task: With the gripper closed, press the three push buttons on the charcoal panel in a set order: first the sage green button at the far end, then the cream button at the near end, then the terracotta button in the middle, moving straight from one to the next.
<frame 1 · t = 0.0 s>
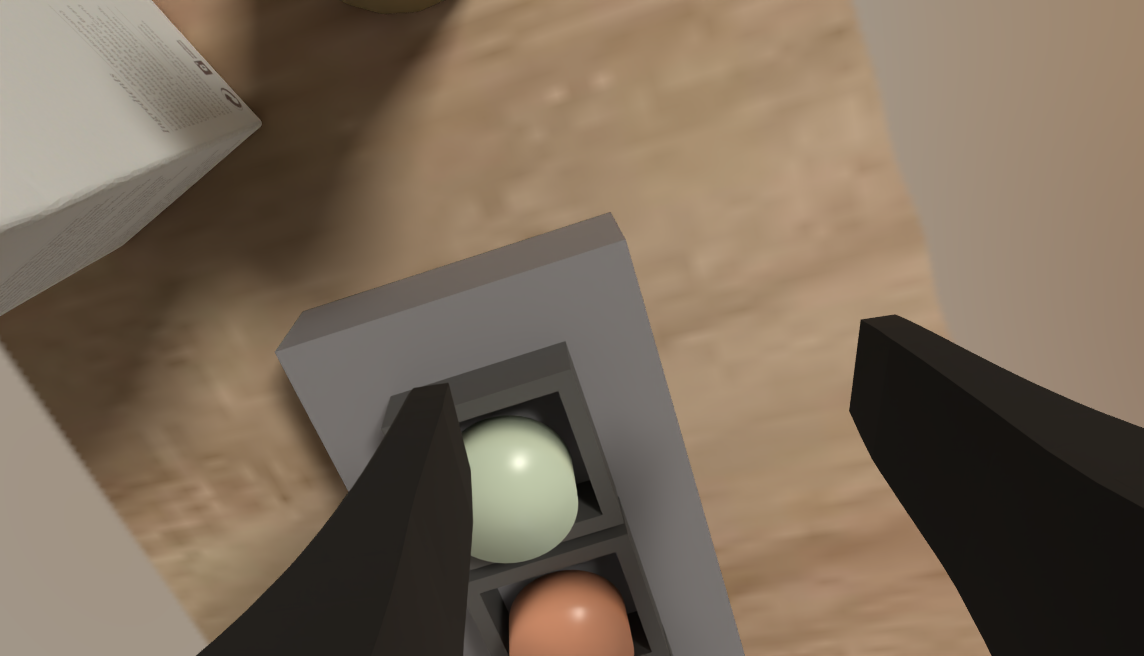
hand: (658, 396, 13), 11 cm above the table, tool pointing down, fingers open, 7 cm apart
charcoal button panel: (557, 523, 27), on the table
sage button: (508, 489, 19), point 5 cm above the table, slide at 0.0 cm
skincare box: (135, 127, 20), on the table
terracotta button: (569, 636, 22), point 5 cm above the table, slide at 0.0 cm
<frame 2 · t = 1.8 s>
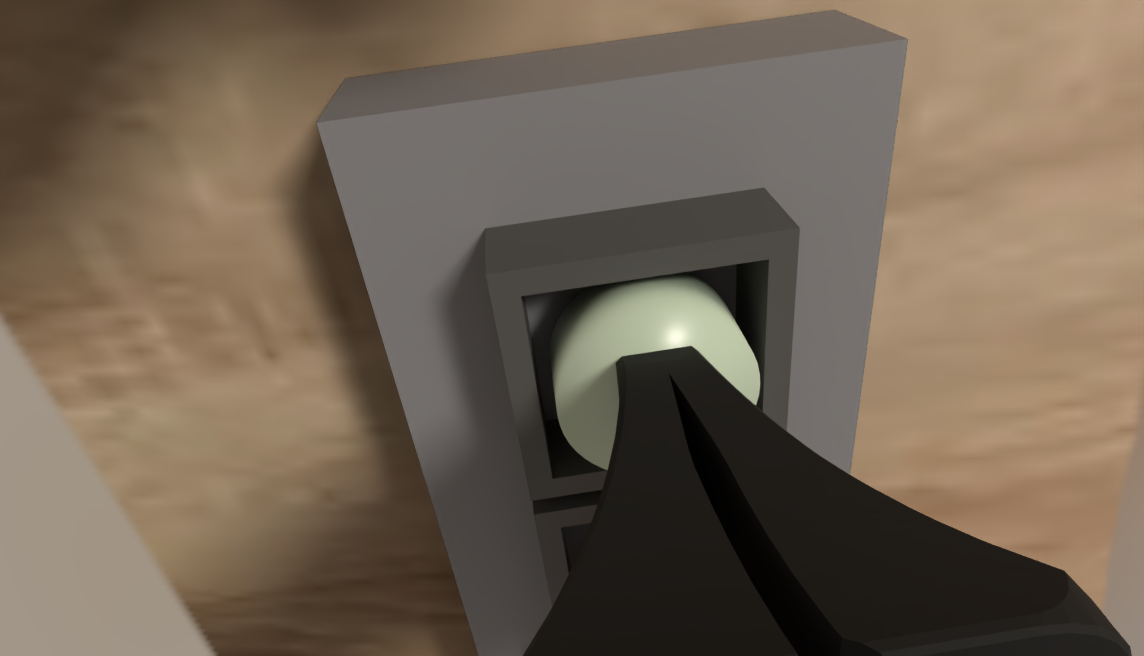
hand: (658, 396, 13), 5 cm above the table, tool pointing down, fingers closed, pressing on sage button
charcoal button panel: (628, 436, 20), on the table
sage button: (650, 373, 13), point 5 cm above the table, slide at 0.7 cm, touching gripper
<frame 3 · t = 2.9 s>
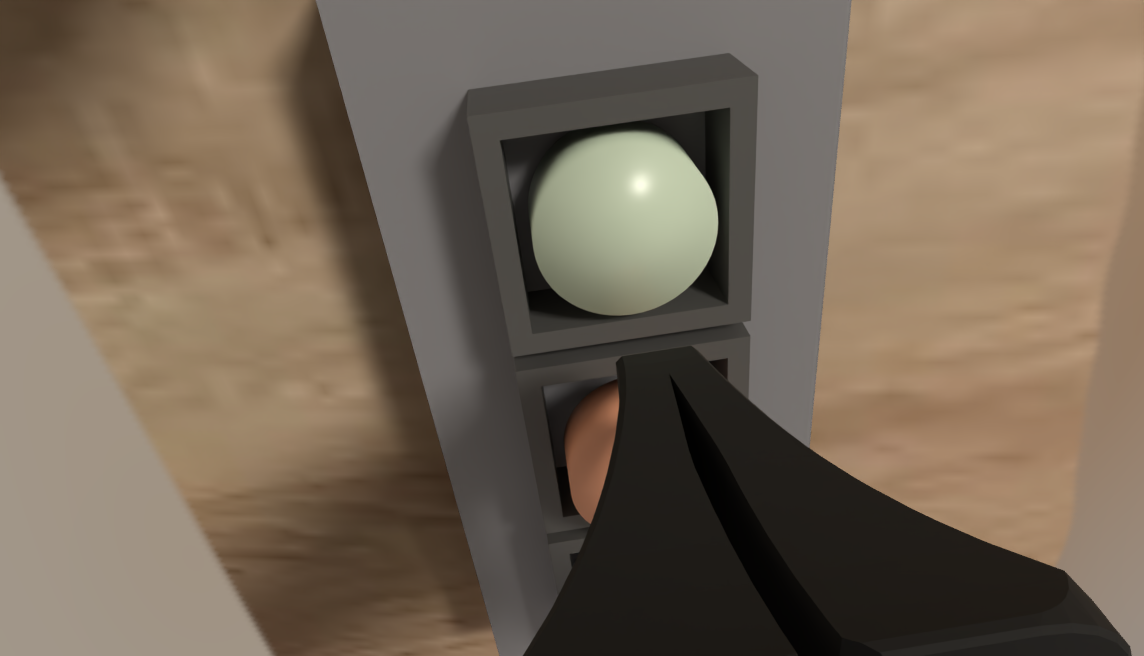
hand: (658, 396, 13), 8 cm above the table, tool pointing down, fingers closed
charcoal button panel: (610, 332, 21), on the table
sage button: (619, 218, 15), point 4 cm above the table, slide at 1.0 cm
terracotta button: (644, 457, 17), point 5 cm above the table, slide at 0.0 cm
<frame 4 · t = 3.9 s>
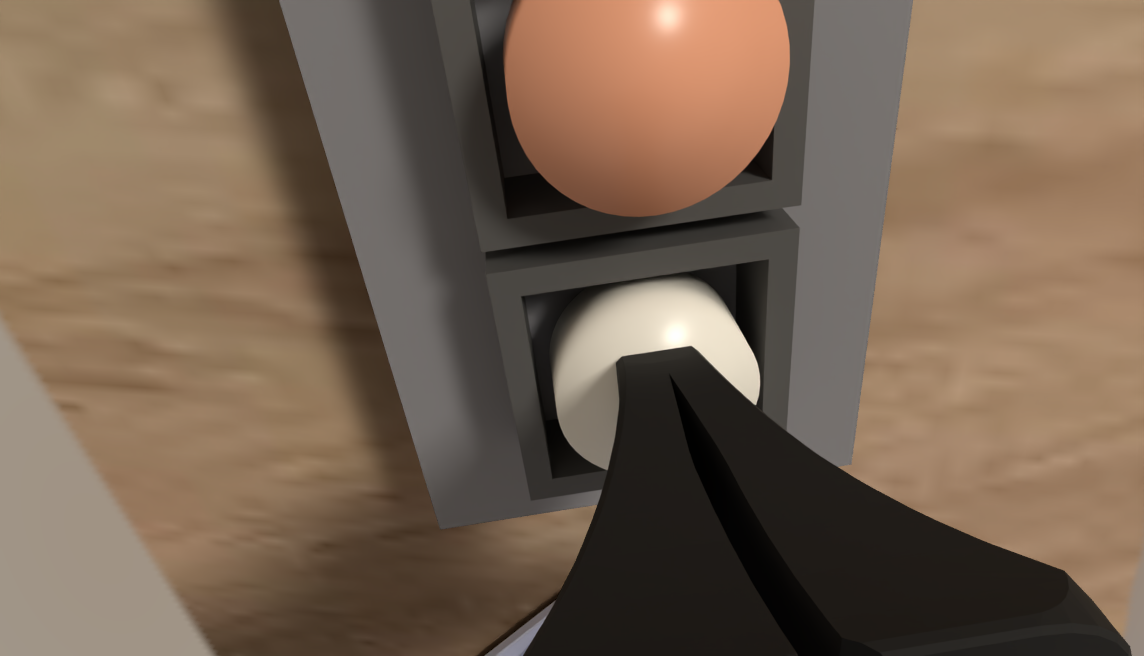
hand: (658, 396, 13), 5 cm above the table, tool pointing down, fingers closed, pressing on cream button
cream button: (650, 373, 13), point 5 cm above the table, slide at 0.7 cm, touching gripper
charcoal button panel: (589, 6, 14), on the table
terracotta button: (638, 69, 10), point 5 cm above the table, slide at 0.0 cm
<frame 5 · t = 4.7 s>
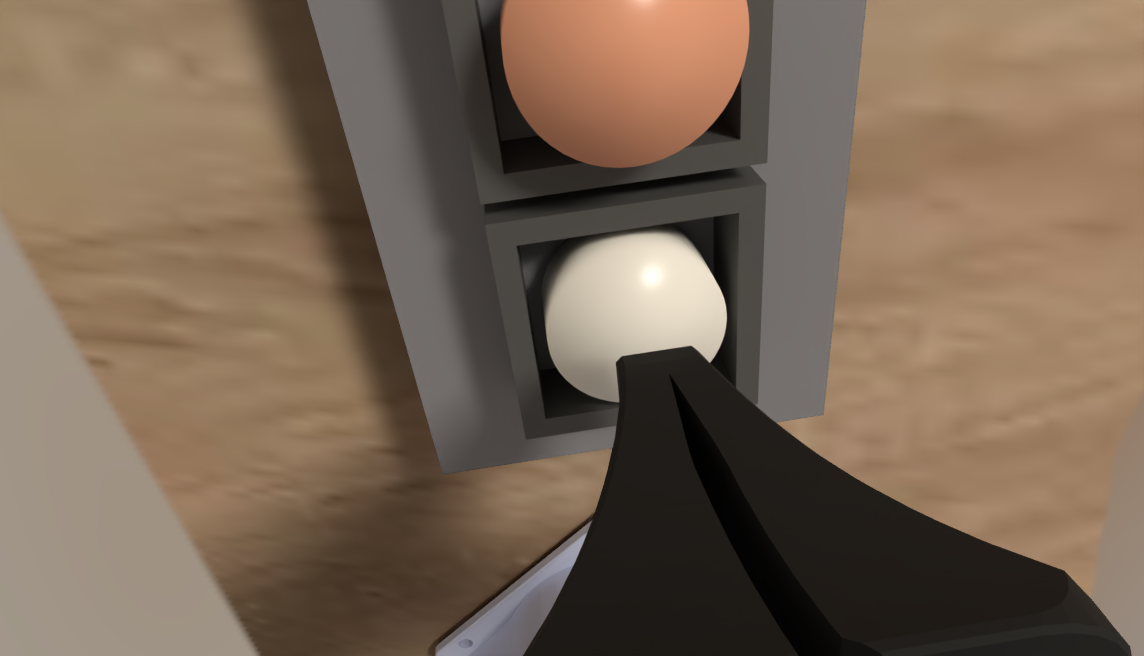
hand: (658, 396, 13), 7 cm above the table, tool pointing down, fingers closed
cream button: (630, 310, 15), point 4 cm above the table, slide at 1.0 cm
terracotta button: (618, 36, 11), point 5 cm above the table, slide at 0.0 cm
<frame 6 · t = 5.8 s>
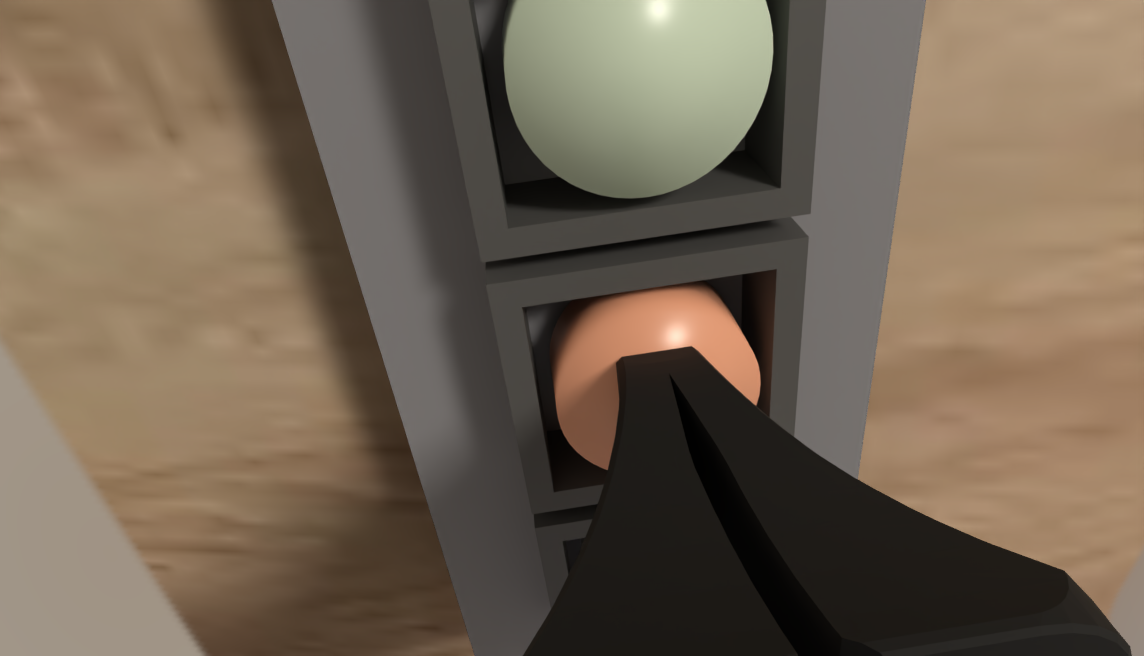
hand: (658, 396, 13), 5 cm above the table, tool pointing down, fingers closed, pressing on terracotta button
cream button: (663, 571, 16), point 4 cm above the table, slide at 1.0 cm
charcoal button panel: (614, 265, 17), on the table
sage button: (630, 57, 10), point 4 cm above the table, slide at 1.0 cm
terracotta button: (650, 373, 13), point 4 cm above the table, slide at 1.0 cm, touching gripper
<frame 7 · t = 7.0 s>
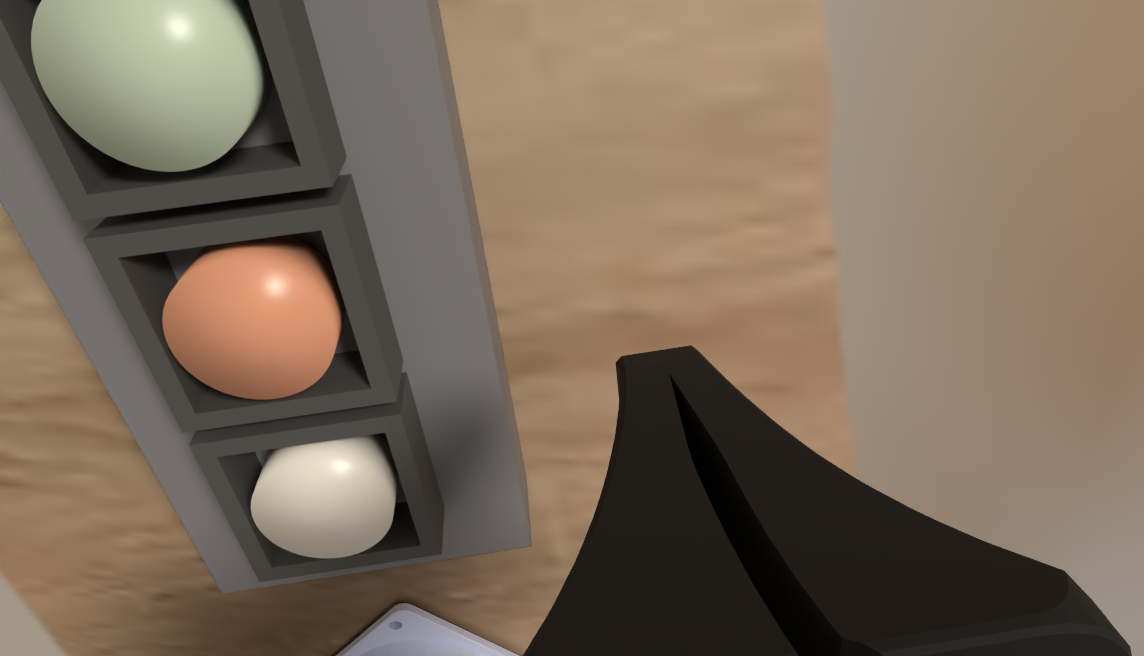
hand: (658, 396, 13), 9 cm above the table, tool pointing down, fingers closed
cream button: (328, 489, 20), point 4 cm above the table, slide at 1.0 cm
charcoal button panel: (299, 236, 20), on the table
sage button: (161, 65, 14), point 4 cm above the table, slide at 1.0 cm
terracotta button: (260, 316, 17), point 4 cm above the table, slide at 1.0 cm
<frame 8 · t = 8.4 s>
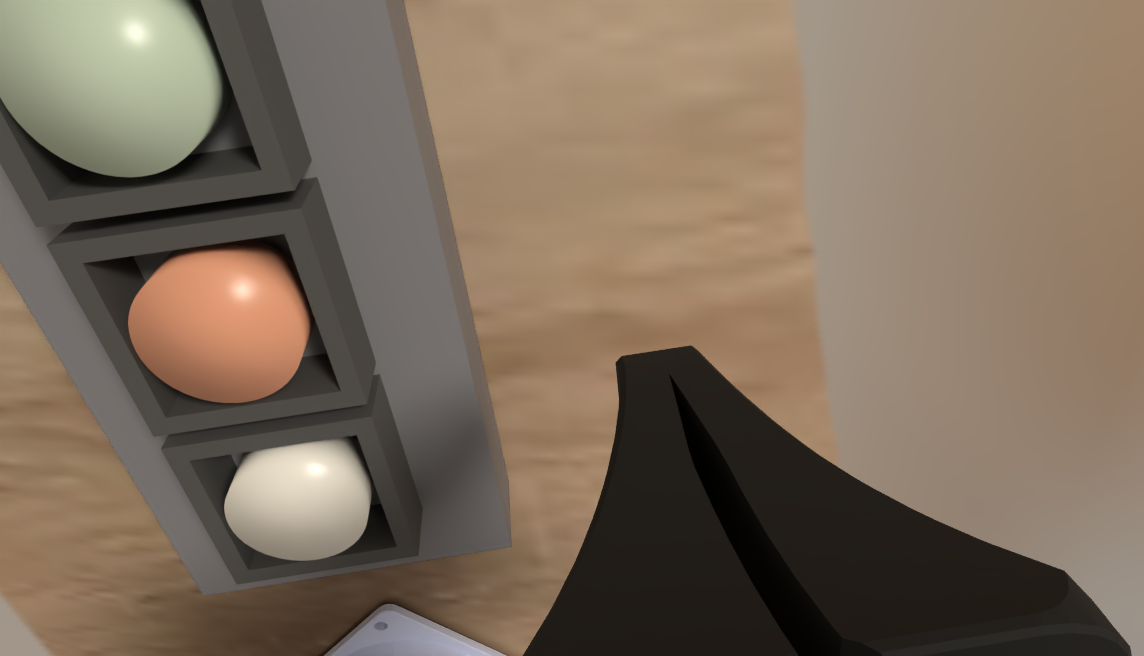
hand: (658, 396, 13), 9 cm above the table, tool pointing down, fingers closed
cream button: (303, 492, 20), point 4 cm above the table, slide at 1.0 cm
charcoal button panel: (272, 239, 20), on the table
sage button: (119, 70, 14), point 4 cm above the table, slide at 1.0 cm
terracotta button: (228, 319, 17), point 4 cm above the table, slide at 1.0 cm
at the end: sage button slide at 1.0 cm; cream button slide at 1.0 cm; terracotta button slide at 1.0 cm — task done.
